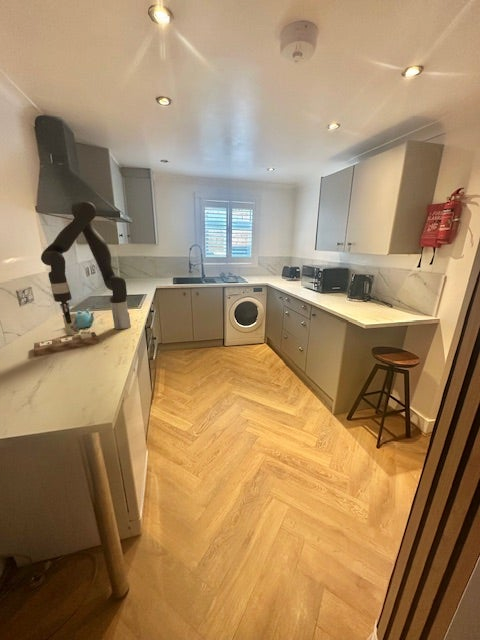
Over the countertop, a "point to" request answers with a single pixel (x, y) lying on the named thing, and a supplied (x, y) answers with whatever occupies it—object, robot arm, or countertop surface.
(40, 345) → the button two
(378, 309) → the countertop surface
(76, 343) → the button panel
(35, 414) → the countertop surface
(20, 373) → the countertop surface
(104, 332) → the countertop surface
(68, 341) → the button one
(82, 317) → the teapot
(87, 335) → the button three
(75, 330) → the box
